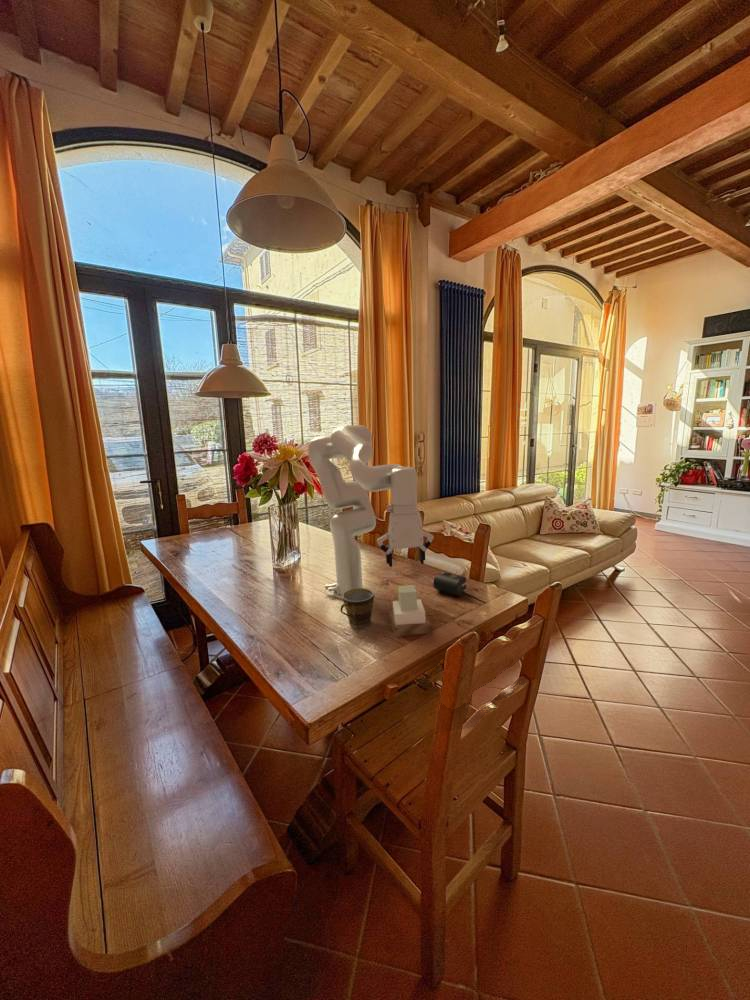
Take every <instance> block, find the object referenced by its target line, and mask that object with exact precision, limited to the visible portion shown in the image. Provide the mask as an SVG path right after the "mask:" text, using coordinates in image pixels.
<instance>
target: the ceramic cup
mask: <svg viewBox="0 0 750 1000" xmlns="http://www.w3.org/2000/svg"><path fill="white" fill-rule="evenodd" d="M342 597H343V600H342V601H343V603H342V604H341V606H340V613H341V614H343V615H345V616H346V617H347V619H348V622H349V627H351V628H352V629H356V630H359V629H360V630H361V629H365V628H367V627H369V626H370V625H371V622H372V621H371V620H372V613H373V607H374V597H375V593H374V591H372V590H371V589H368V588H367V589H365V588H356V589H351V590H348V591H346V592H345V593H344V594H343V595H342ZM344 608H345V611H346V612H344V611H343V609H344Z"/></svg>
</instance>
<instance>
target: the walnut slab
mask: <svg viewBox="0 0 750 1000" xmlns="http://www.w3.org/2000/svg"><path fill="white" fill-rule="evenodd" d="M388 619H389V624H390V625H391V628H392V632H393V634H394V637H395V638H397V637H404V636H413V635H420V634H421V635H423V634H431V633H432V623H431V621H430V619H429V618H428V616H427V614H426V613H425V622H426V623H418V624H405V625H396V624H395V619H394V614H393V610H388Z"/></svg>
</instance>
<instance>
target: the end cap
mask: <svg viewBox="0 0 750 1000" xmlns="http://www.w3.org/2000/svg"><path fill="white" fill-rule="evenodd" d="M452 575H453V574H452V573H451V572H444V573H437V574H436V575H435V576H434V578H433V583H432V584H433V587H434V589H435V590H437V592H441V593H444V594H448V595H451V596H454V597H455V596H456V597H457V598H458V597H459V598H460V597H462V596H463V595H465V594H466V589H467V584H465V583H466V582H467V578H466V577H465V576H462V575H461V574H460V575H457V576H454V577H453V576H452ZM463 584H464V585H463Z"/></svg>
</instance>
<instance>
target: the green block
mask: <svg viewBox="0 0 750 1000" xmlns="http://www.w3.org/2000/svg"><path fill="white" fill-rule="evenodd" d="M397 591H398V593H397V594H398V595H397V596H398V597H397V598H398V601H399V606H400V610H401V611H410V610H417V599H418V594H417V593H418V591H417V589H416V586H415V585H414V584H409V585H398V586H397Z"/></svg>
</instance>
